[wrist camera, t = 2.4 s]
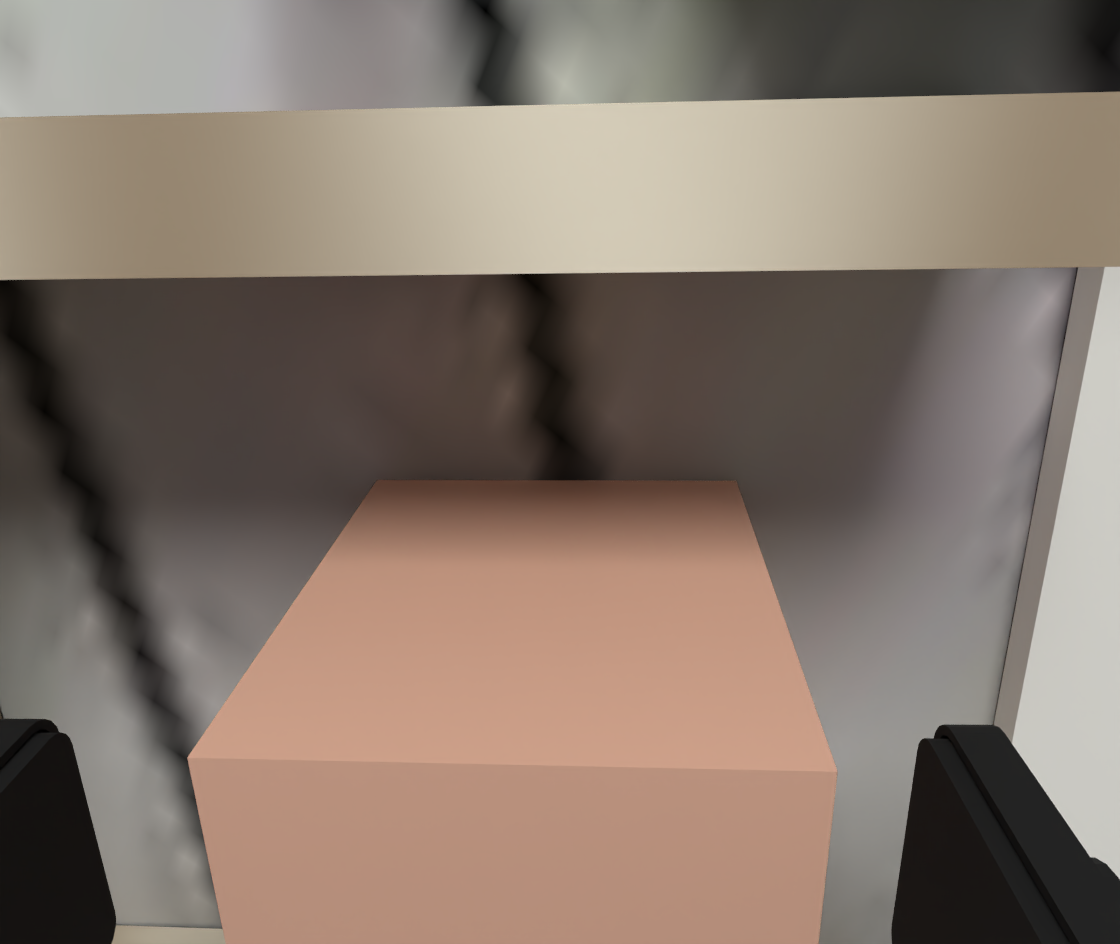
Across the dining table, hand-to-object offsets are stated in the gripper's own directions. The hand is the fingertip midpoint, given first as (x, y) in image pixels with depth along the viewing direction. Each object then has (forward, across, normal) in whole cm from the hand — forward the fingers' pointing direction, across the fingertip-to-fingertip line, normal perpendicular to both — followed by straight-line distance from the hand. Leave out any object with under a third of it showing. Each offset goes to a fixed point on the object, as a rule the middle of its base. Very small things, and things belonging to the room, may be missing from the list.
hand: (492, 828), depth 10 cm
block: (+4, -1, 0) cm, 4 cm away
